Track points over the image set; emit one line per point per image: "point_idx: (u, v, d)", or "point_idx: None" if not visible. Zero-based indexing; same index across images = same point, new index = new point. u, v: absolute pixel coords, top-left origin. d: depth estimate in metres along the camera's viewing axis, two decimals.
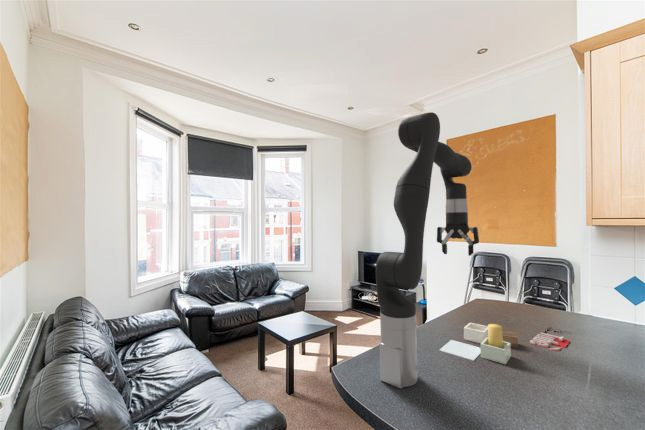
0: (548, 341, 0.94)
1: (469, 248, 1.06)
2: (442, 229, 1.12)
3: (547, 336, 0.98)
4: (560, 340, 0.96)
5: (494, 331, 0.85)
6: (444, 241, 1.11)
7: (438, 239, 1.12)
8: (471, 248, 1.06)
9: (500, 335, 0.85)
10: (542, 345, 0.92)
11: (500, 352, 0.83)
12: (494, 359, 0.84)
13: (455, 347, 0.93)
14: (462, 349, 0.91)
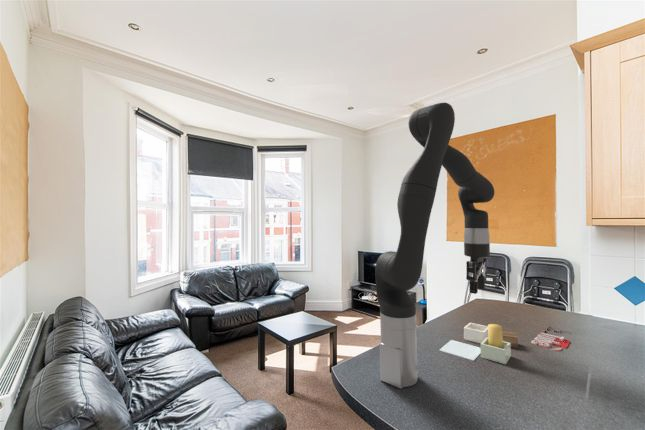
0: (549, 341, 0.94)
1: (484, 281, 0.99)
2: None
3: (548, 336, 0.98)
4: (561, 340, 0.96)
5: (494, 331, 0.85)
6: (477, 278, 0.93)
7: (475, 277, 0.91)
8: None
9: (500, 335, 0.85)
10: (544, 345, 0.92)
11: (500, 352, 0.83)
12: (494, 359, 0.84)
13: (455, 347, 0.93)
14: (462, 349, 0.91)
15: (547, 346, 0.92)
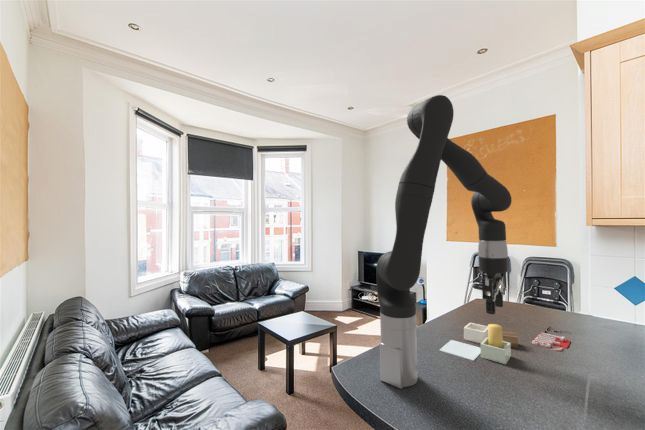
0: (550, 341, 0.94)
1: (502, 298, 0.89)
2: None
3: (548, 336, 0.98)
4: (561, 340, 0.96)
5: (494, 331, 0.85)
6: (495, 297, 0.83)
7: (492, 296, 0.81)
8: None
9: (500, 335, 0.85)
10: (544, 345, 0.92)
11: (500, 352, 0.83)
12: (494, 359, 0.84)
13: (455, 347, 0.93)
14: (462, 349, 0.91)
15: (548, 346, 0.91)
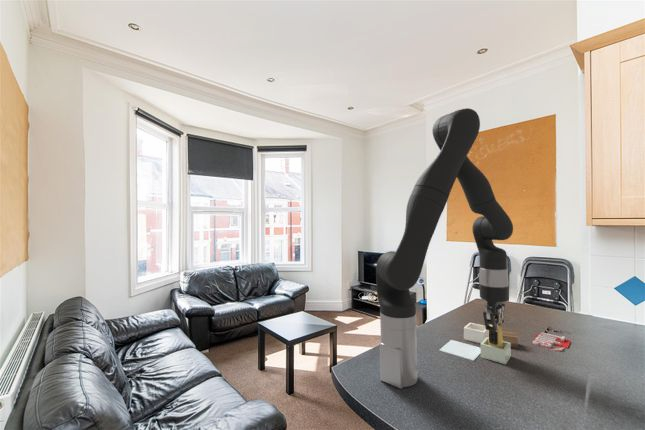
0: (550, 341, 0.94)
1: None
2: (491, 313, 0.83)
3: (549, 336, 0.98)
4: (562, 340, 0.96)
5: None
6: (497, 327, 0.84)
7: (495, 327, 0.82)
8: None
9: (500, 335, 0.85)
10: (545, 346, 0.92)
11: (500, 352, 0.83)
12: (494, 359, 0.84)
13: (455, 347, 0.93)
14: (462, 349, 0.91)
15: (549, 346, 0.91)
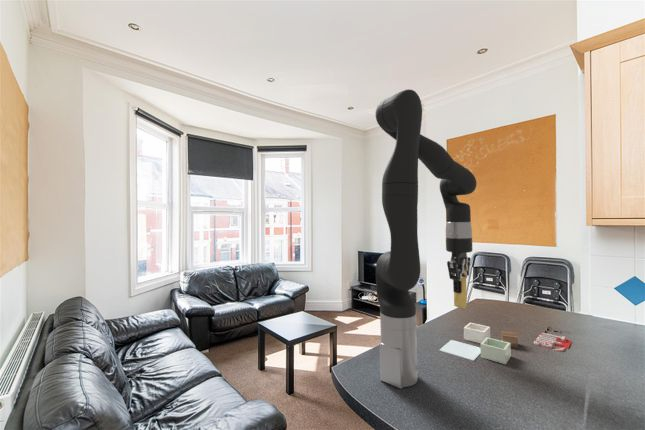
0: (551, 341, 0.94)
1: None
2: None
3: (549, 336, 0.98)
4: (562, 340, 0.96)
5: None
6: (461, 277, 0.89)
7: (458, 276, 0.87)
8: None
9: (464, 284, 0.90)
10: (546, 346, 0.92)
11: (500, 352, 0.83)
12: (494, 359, 0.84)
13: (455, 347, 0.93)
14: (462, 349, 0.91)
15: (550, 346, 0.91)
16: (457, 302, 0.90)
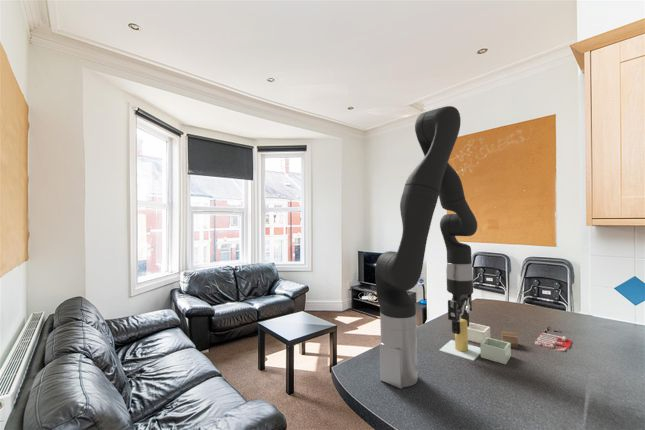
0: (552, 342, 0.94)
1: (468, 318, 0.94)
2: None
3: (550, 336, 0.98)
4: (563, 340, 0.96)
5: None
6: (460, 318, 0.88)
7: (457, 317, 0.86)
8: None
9: (465, 329, 0.90)
10: (548, 346, 0.91)
11: (500, 352, 0.83)
12: (494, 359, 0.84)
13: None
14: None
15: (551, 347, 0.91)
16: (458, 346, 0.90)
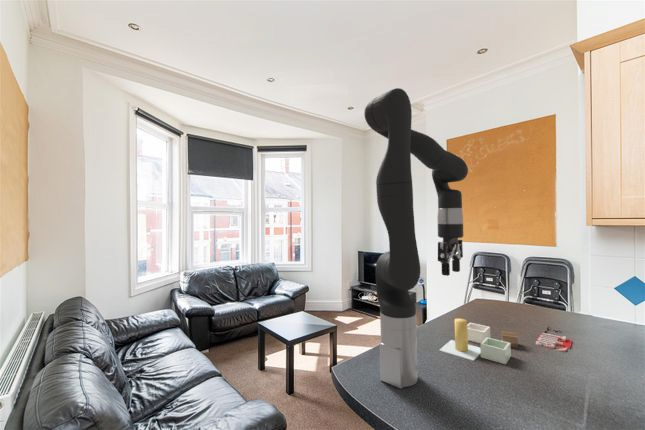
0: (553, 342, 0.94)
1: (459, 263, 0.95)
2: None
3: (550, 336, 0.98)
4: (563, 340, 0.96)
5: (459, 325, 0.90)
6: (449, 259, 0.89)
7: (446, 258, 0.88)
8: None
9: (465, 329, 0.90)
10: (549, 346, 0.91)
11: (500, 352, 0.83)
12: (494, 359, 0.84)
13: None
14: None
15: (552, 347, 0.91)
16: (458, 346, 0.90)
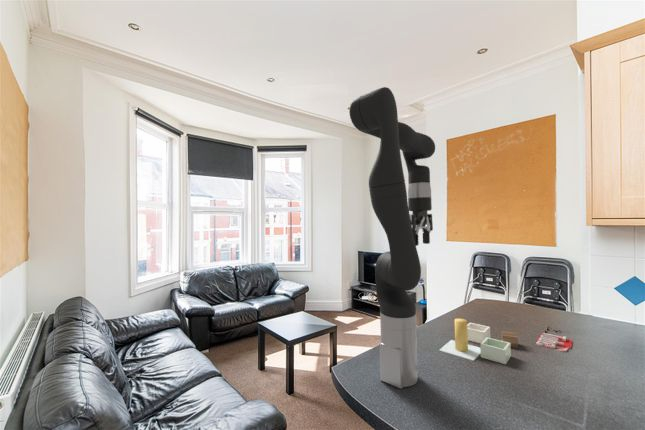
0: (554, 342, 0.94)
1: (429, 236, 1.02)
2: None
3: (551, 336, 0.98)
4: (564, 340, 0.96)
5: (459, 325, 0.90)
6: (418, 230, 0.95)
7: (414, 228, 0.94)
8: None
9: (465, 329, 0.90)
10: (550, 346, 0.91)
11: (500, 352, 0.83)
12: (494, 359, 0.84)
13: None
14: None
15: (553, 347, 0.91)
16: (458, 346, 0.90)
